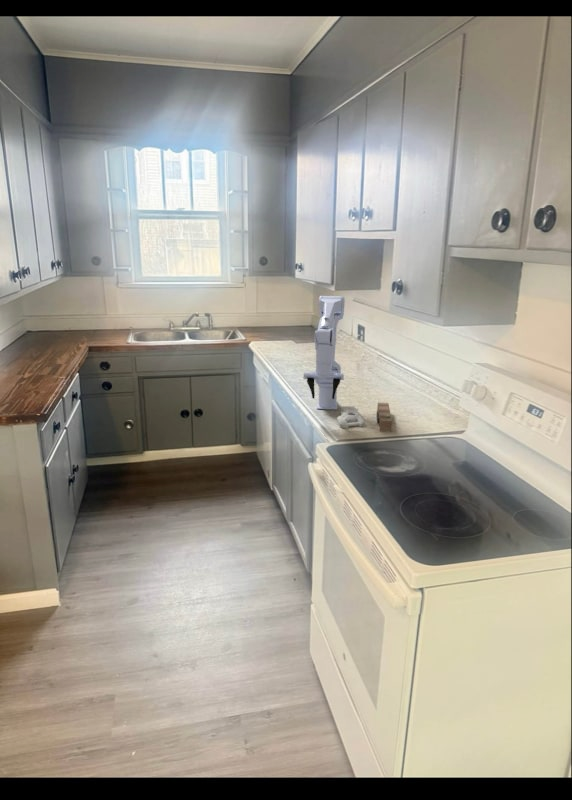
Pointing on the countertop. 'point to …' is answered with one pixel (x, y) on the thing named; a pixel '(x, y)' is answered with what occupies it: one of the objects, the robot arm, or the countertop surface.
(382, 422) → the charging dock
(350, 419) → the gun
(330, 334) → the robot arm
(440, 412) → the countertop surface
